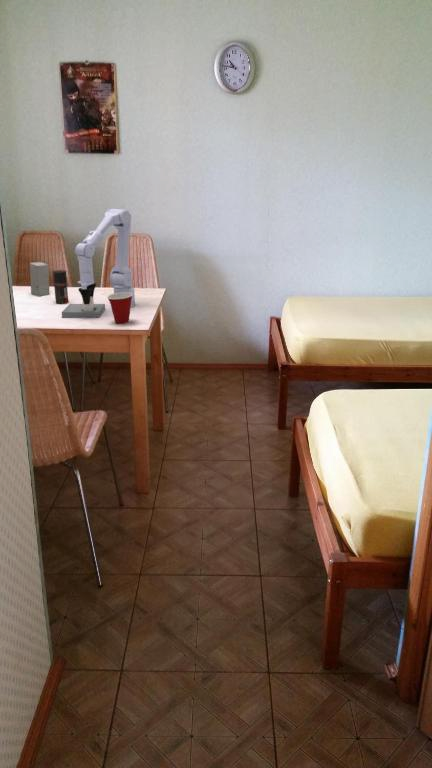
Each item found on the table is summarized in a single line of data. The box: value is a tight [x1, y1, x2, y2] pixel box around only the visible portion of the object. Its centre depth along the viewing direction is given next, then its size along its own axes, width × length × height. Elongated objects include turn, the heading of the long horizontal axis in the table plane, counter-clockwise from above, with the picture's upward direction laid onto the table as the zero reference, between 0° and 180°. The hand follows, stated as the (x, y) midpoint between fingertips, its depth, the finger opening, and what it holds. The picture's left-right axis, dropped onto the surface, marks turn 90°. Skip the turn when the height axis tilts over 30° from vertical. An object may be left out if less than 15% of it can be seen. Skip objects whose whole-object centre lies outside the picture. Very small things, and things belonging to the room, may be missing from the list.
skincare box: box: [29, 261, 51, 297], centre depth 312 cm, size 8×7×16 cm
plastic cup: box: [106, 292, 133, 325], centre depth 262 cm, size 11×11×12 cm
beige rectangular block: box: [81, 295, 95, 311], centre depth 274 cm, size 4×4×8 cm
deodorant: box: [52, 269, 69, 305], centre depth 295 cm, size 6×6×15 cm
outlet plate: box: [61, 303, 106, 319], centre depth 277 cm, size 16×16×2 cm
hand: (88, 302), depth 273 cm, fingers open, 7 cm apart
